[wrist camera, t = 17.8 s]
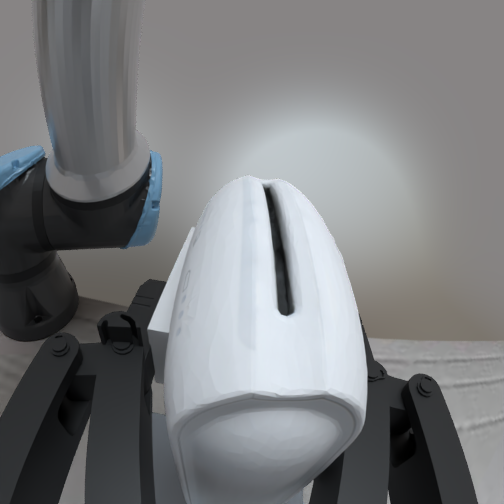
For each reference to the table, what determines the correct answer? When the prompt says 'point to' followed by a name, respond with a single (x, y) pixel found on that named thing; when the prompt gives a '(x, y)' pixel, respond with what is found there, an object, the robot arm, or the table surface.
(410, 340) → the table surface
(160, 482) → the rubber mat
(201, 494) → the photo printer
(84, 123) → the robot arm
